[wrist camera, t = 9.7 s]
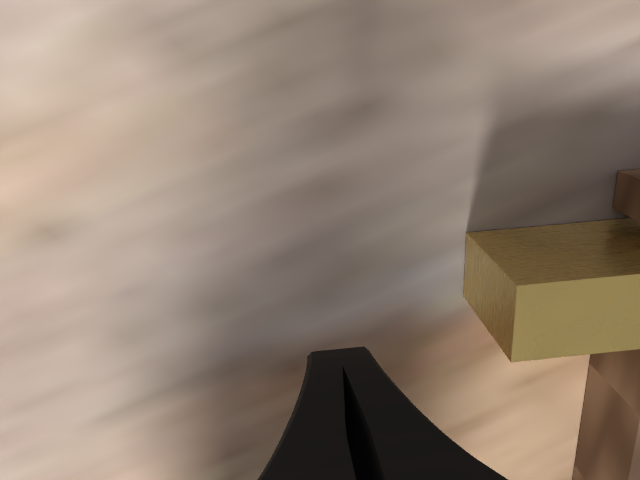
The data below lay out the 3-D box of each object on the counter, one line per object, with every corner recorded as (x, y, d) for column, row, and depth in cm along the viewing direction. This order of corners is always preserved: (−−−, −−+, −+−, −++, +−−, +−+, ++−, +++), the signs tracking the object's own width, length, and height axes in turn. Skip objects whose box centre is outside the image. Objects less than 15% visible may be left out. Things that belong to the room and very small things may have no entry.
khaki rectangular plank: (628, 280, 19) (715, 341, 15) (463, 296, 18) (511, 362, 15) (639, 217, 18) (734, 265, 14) (466, 232, 18) (517, 285, 14)
